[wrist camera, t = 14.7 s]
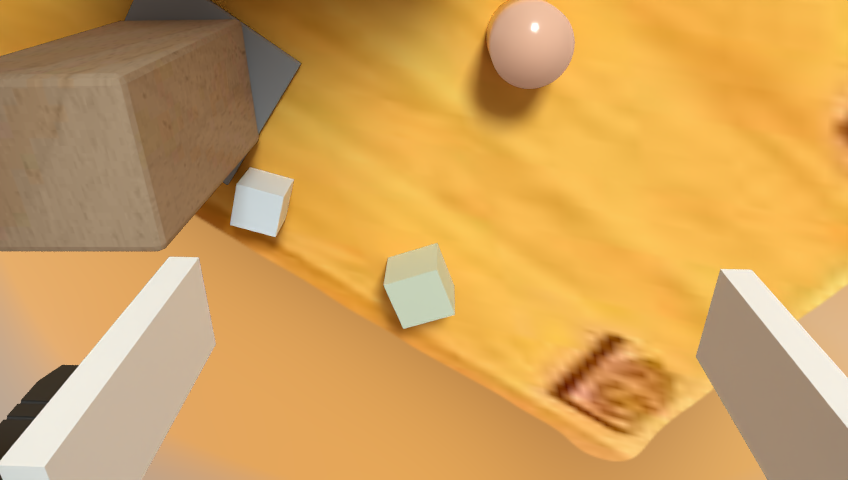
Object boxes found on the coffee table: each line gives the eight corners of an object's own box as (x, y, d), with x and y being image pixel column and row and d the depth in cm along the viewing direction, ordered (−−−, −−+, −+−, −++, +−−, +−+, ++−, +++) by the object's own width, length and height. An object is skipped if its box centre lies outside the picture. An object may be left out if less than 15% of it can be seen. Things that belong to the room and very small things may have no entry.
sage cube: (388, 257, 57) (383, 285, 53) (437, 242, 56) (436, 269, 52) (406, 298, 59) (403, 328, 55) (454, 285, 58) (454, 314, 54)
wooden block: (146, 141, 52) (-8, 254, 34) (117, 19, 47) (-80, 77, 29) (261, 141, 51) (164, 254, 34) (242, 18, 47) (119, 75, 29)
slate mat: (92, 98, 51) (88, 100, 50) (153, -39, 46) (150, -38, 45) (229, 182, 54) (227, 185, 53) (301, 63, 49) (299, 65, 48)
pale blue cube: (250, 166, 53) (236, 183, 50) (294, 179, 54) (283, 196, 50) (243, 205, 55) (229, 224, 52) (286, 217, 56) (275, 237, 52)
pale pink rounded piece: (488, -6, 46) (493, 1, 42) (566, -5, 46) (579, 2, 41) (484, 73, 49) (488, 88, 44) (557, 74, 49) (569, 89, 44)
